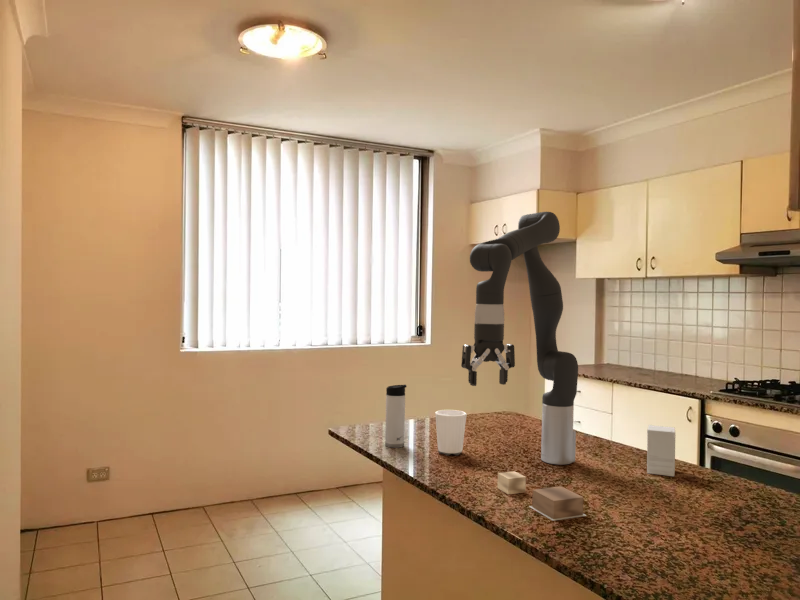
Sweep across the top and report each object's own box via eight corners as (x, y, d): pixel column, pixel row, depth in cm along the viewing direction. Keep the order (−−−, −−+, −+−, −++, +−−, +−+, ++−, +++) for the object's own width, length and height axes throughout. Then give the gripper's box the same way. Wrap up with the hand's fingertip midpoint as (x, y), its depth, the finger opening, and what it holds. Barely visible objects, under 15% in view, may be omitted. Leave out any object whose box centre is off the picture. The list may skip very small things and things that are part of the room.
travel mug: (403, 448, 194) (404, 386, 194) (383, 447, 196) (384, 385, 195) (406, 443, 200) (408, 383, 200) (387, 442, 202) (388, 382, 201)
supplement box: (674, 470, 176) (675, 427, 176) (674, 477, 169) (675, 432, 169) (647, 466, 179) (648, 424, 179) (646, 473, 172) (647, 429, 172)
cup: (429, 455, 187) (430, 414, 187) (439, 447, 196) (440, 408, 196) (460, 458, 183) (461, 417, 183) (469, 451, 193) (470, 411, 192)
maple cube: (514, 490, 155) (514, 471, 155) (525, 496, 150) (525, 476, 150) (497, 492, 153) (497, 473, 153) (508, 499, 148) (508, 478, 148)
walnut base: (560, 503, 143) (561, 486, 143) (583, 514, 135) (583, 497, 135) (532, 506, 140) (532, 489, 140) (553, 519, 132) (553, 501, 132)
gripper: (505, 321, 161) (504, 381, 161) (457, 321, 156) (456, 383, 156) (521, 322, 154) (519, 386, 154) (471, 322, 149) (469, 388, 149)
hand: (487, 384), depth 155 cm, fingers open, 8 cm apart
